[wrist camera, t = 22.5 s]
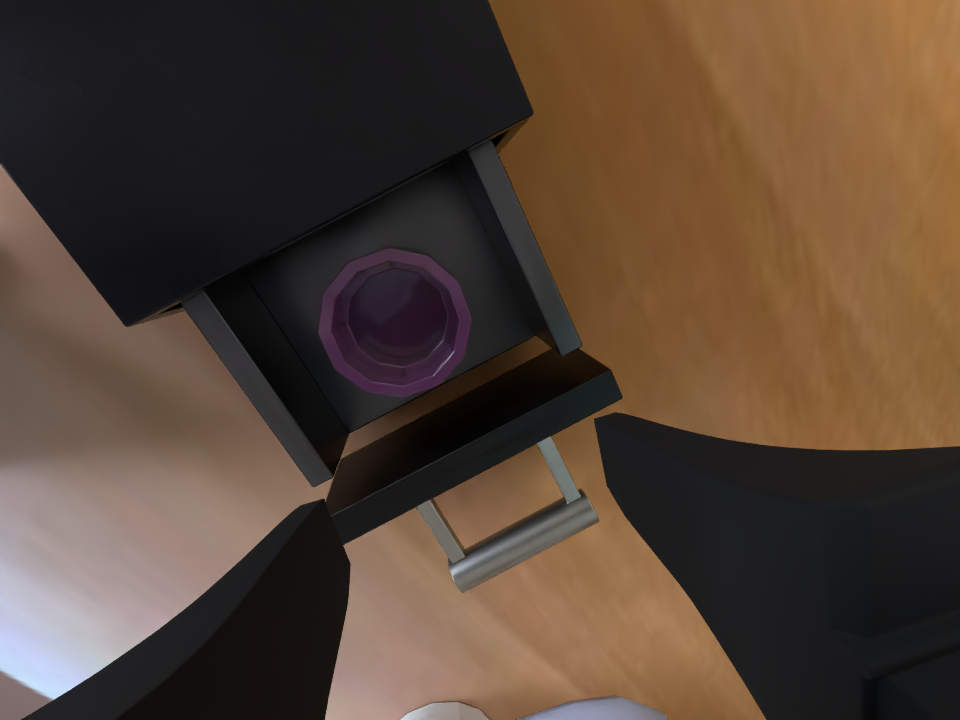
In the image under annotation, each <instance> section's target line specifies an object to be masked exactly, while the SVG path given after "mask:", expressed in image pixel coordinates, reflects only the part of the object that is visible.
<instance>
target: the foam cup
mask: <svg viewBox="0 0 960 720" xmlns="http://www.w3.org/2000/svg"><path fill="white" fill-rule="evenodd" d="M401 720H489V719H488V718H487V717H486V716H485V715H484V714H483V713H482V712H481V711H480V710H479V709H477V708H474V707H471V706H468V705H465V704H462V703H459V702H447V703H431V704H429V705H426V706H424V707H421V708H419V709H416V710H414V711H412V712H409V713H407V714H406V715H405V716H404V717H403V718H402V719H401Z"/></svg>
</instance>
